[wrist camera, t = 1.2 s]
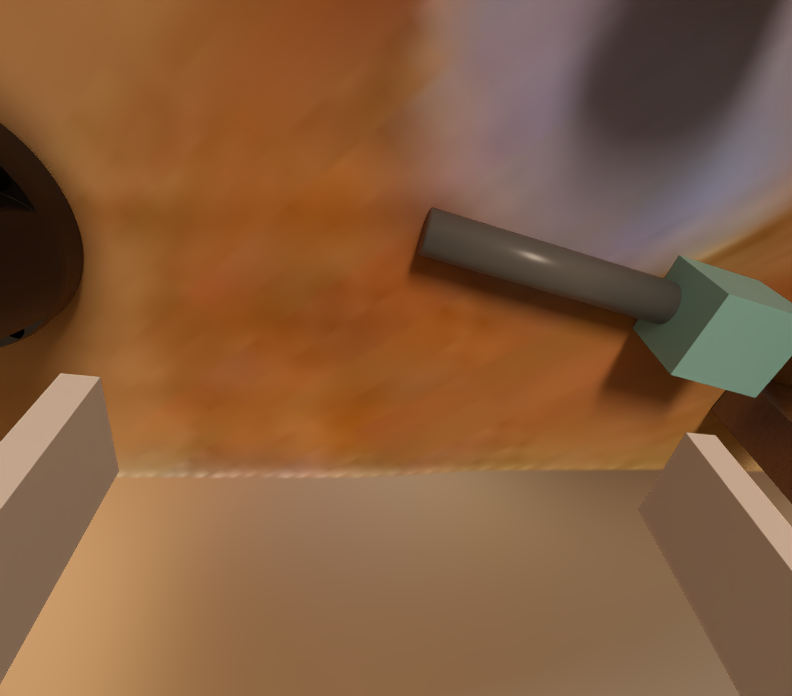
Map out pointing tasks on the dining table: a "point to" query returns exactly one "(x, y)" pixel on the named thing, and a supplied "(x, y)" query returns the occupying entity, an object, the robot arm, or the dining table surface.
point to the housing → (763, 429)
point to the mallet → (639, 300)
